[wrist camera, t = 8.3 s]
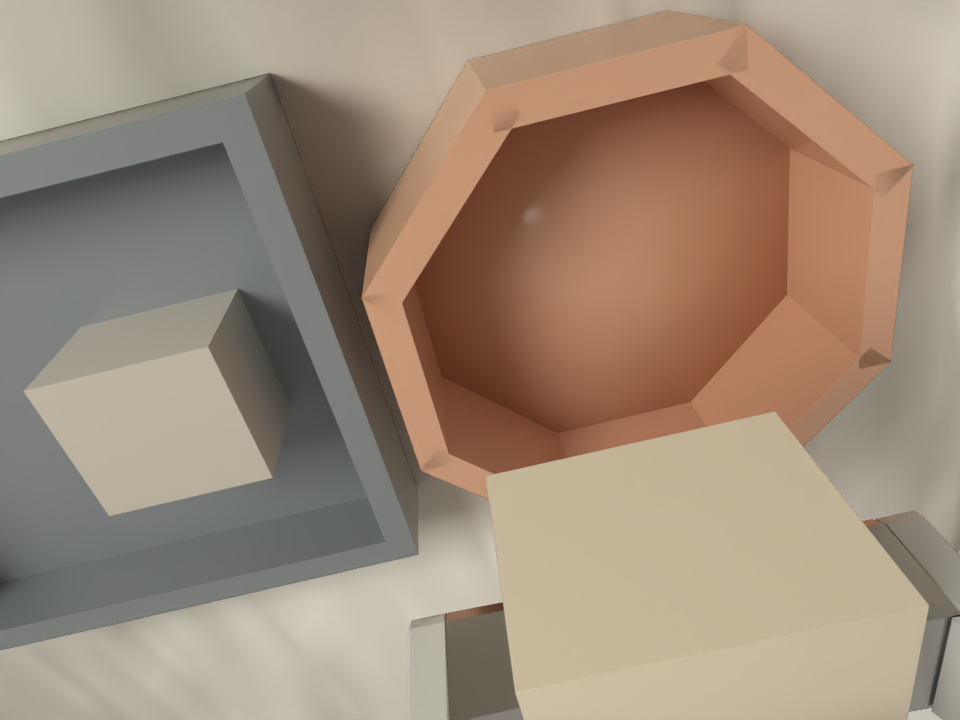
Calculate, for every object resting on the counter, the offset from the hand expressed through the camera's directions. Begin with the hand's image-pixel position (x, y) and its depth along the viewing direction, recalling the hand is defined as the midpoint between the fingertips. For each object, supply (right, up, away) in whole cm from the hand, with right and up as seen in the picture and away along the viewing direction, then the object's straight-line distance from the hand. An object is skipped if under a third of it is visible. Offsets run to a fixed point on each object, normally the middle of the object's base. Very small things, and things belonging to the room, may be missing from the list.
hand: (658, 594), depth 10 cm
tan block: (0, 0, +1) cm, 1 cm away
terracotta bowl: (+1, +6, +10) cm, 12 cm away
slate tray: (-14, +3, +10) cm, 17 cm away
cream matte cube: (-11, +3, +10) cm, 15 cm away
